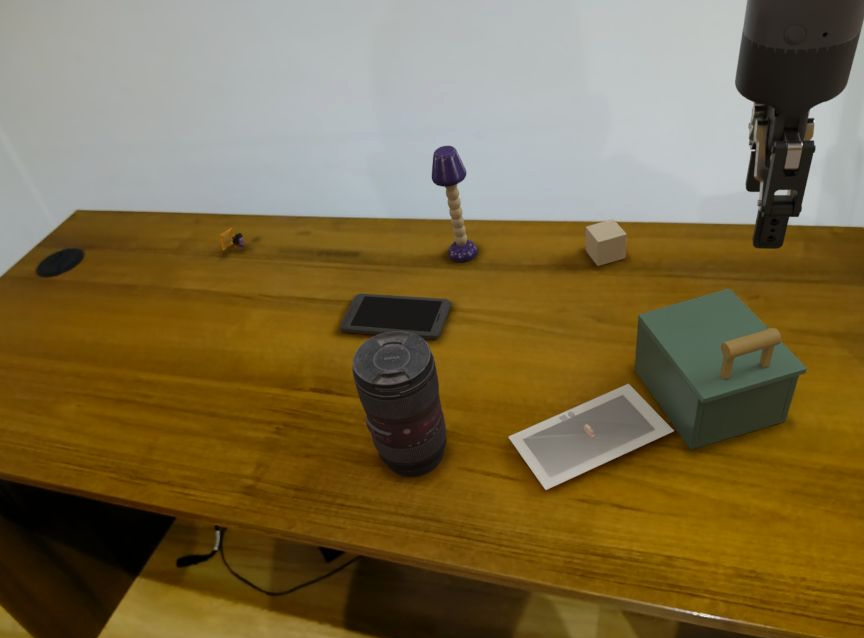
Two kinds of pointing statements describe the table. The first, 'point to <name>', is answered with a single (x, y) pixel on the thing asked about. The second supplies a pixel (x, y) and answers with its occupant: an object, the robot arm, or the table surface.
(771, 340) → the lid
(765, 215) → the robot arm
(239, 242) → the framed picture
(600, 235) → the block
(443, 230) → the table surface
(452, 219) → the toy lamp
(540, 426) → the touchpad
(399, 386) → the camera lens
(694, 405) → the chest
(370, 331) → the cell phone
